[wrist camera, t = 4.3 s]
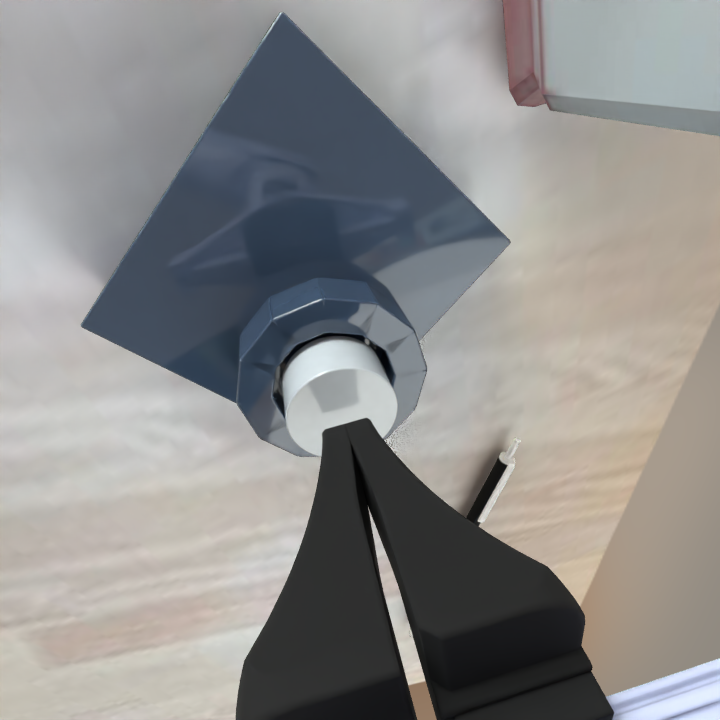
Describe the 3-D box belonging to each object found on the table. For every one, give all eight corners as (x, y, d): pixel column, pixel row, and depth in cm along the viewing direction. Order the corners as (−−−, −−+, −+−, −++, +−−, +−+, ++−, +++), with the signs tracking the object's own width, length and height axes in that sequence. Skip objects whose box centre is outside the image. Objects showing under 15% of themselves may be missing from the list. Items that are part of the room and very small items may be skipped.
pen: (520, 435, 27) (530, 448, 26) (413, 629, 35) (418, 645, 35) (506, 433, 26) (516, 447, 25) (402, 630, 35) (407, 645, 34)
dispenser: (324, 407, 23) (342, 483, 19) (103, 287, 18) (61, 356, 14) (486, 228, 20) (551, 272, 16) (274, 19, 15) (287, 1, 10)
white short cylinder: (340, 434, 18) (349, 472, 16) (260, 392, 16) (262, 431, 15) (402, 367, 17) (420, 401, 15) (324, 315, 15) (334, 347, 13)
